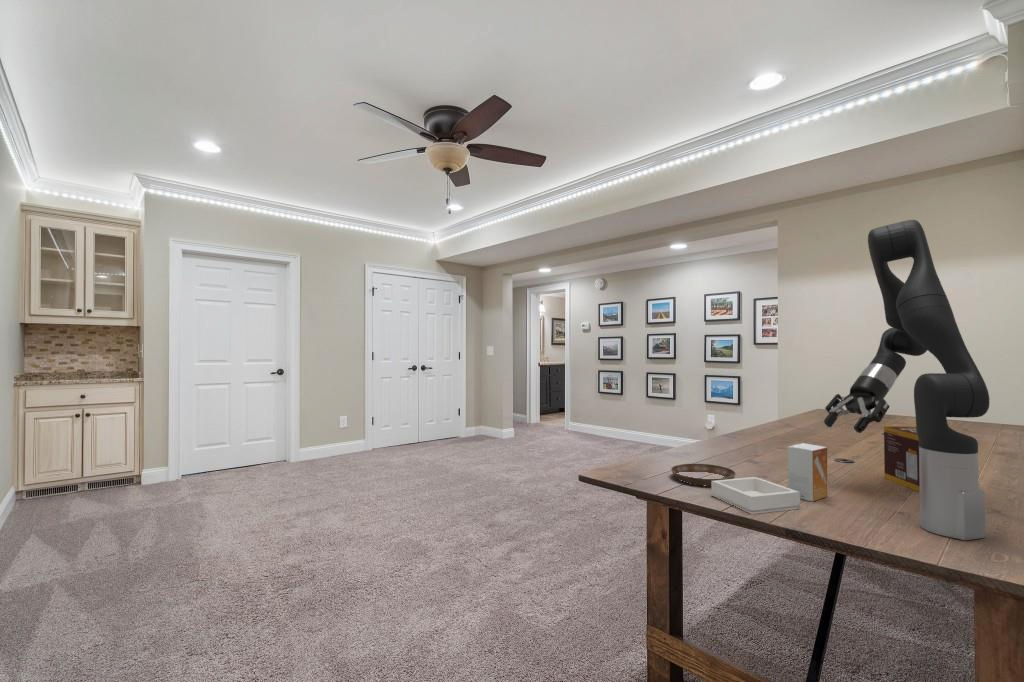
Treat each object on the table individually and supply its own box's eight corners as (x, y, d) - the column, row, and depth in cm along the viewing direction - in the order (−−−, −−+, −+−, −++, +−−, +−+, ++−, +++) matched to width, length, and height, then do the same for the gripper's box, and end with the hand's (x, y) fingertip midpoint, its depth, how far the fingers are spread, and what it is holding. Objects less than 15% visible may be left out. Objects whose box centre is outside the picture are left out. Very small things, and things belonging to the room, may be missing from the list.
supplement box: (920, 478, 141) (920, 425, 141) (965, 494, 125) (964, 435, 126) (883, 477, 142) (882, 425, 142) (922, 493, 126) (921, 434, 127)
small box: (813, 502, 119) (812, 450, 119) (787, 496, 125) (786, 446, 125) (828, 496, 124) (827, 446, 124) (802, 490, 129) (802, 442, 129)
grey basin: (799, 508, 115) (799, 491, 115) (751, 514, 111) (751, 496, 111) (755, 491, 128) (755, 476, 128) (711, 496, 124) (711, 480, 125)
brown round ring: (671, 486, 134) (671, 475, 134) (670, 471, 151) (670, 461, 151) (740, 491, 129) (740, 480, 129) (731, 475, 146) (731, 465, 146)
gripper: (841, 372, 137) (810, 414, 134) (893, 376, 123) (859, 422, 120) (856, 390, 138) (825, 432, 135) (908, 396, 125) (875, 442, 121)
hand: (841, 427), depth 128 cm, fingers open, 8 cm apart
